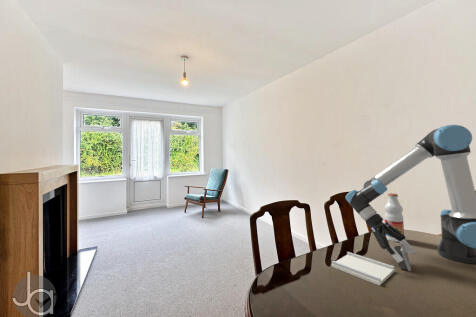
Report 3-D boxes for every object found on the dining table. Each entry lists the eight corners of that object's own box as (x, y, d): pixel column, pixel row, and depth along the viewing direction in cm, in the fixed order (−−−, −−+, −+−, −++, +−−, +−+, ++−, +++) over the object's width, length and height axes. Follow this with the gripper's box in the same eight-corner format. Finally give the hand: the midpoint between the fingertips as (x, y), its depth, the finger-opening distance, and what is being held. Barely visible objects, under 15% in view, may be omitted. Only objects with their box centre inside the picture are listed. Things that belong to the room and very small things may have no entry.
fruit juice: (407, 240, 128) (406, 194, 129) (397, 243, 125) (395, 195, 125) (391, 235, 137) (389, 192, 138) (381, 238, 134) (380, 193, 134)
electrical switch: (411, 272, 93) (407, 250, 94) (396, 270, 96) (393, 249, 97) (410, 264, 100) (407, 244, 101) (397, 262, 103) (394, 242, 104)
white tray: (394, 271, 94) (394, 265, 94) (379, 285, 84) (379, 279, 84) (348, 256, 110) (348, 251, 110) (331, 266, 100) (331, 261, 100)
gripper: (377, 217, 118) (411, 254, 105) (352, 225, 105) (388, 268, 92) (388, 209, 114) (425, 246, 101) (363, 216, 101) (402, 260, 88)
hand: (407, 257), depth 97 cm, fingers open, 13 cm apart
